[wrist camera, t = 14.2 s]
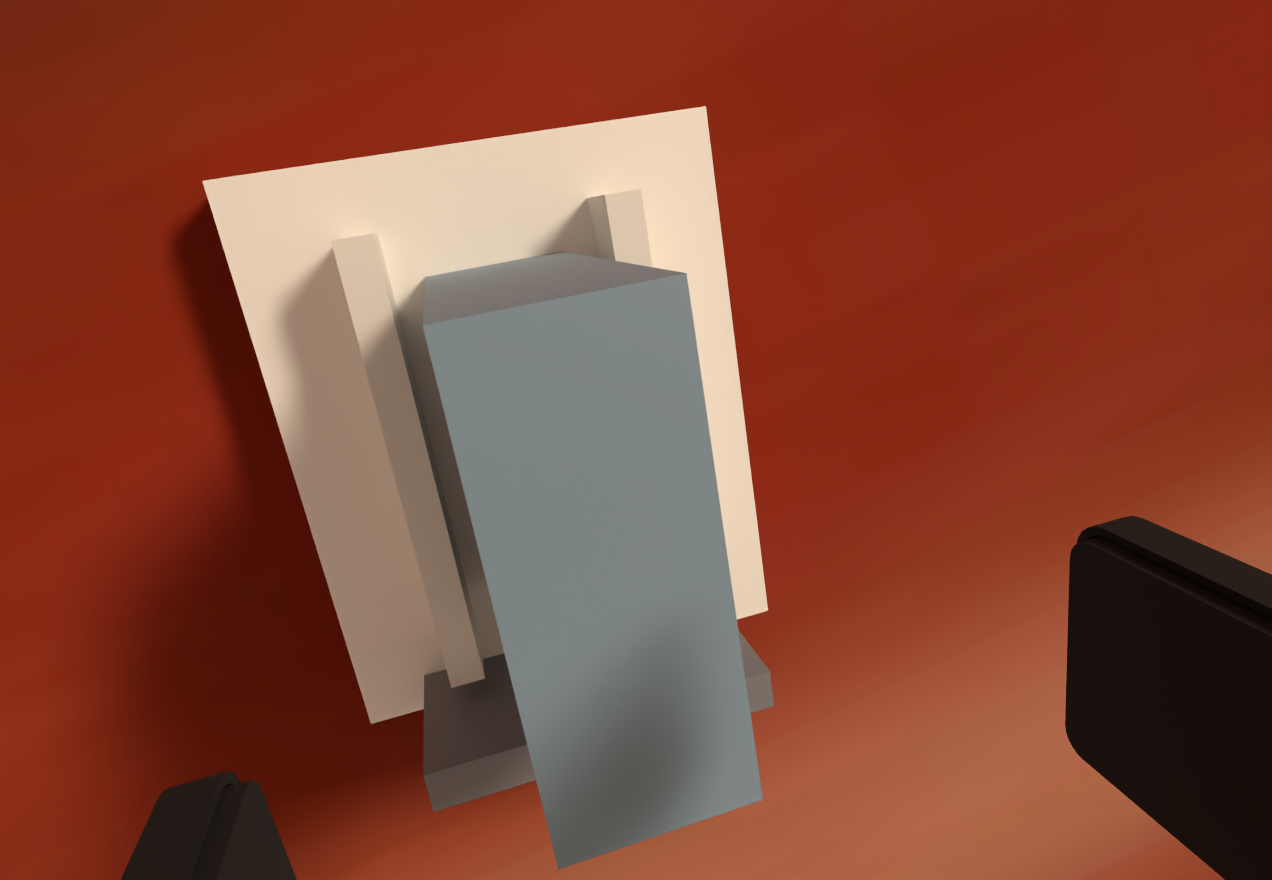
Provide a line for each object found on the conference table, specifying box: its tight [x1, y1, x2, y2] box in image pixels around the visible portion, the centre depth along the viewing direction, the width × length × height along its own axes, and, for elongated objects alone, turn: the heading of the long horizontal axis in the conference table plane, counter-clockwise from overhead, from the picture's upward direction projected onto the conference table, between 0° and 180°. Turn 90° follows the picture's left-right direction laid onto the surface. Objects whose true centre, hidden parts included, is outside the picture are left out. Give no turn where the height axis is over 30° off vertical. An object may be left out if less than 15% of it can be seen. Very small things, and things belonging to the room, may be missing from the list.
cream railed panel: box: [203, 106, 774, 812], centre depth 23 cm, size 17×14×7 cm
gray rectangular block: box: [422, 251, 763, 869], centre depth 19 cm, size 10×4×12 cm, turn 10°
